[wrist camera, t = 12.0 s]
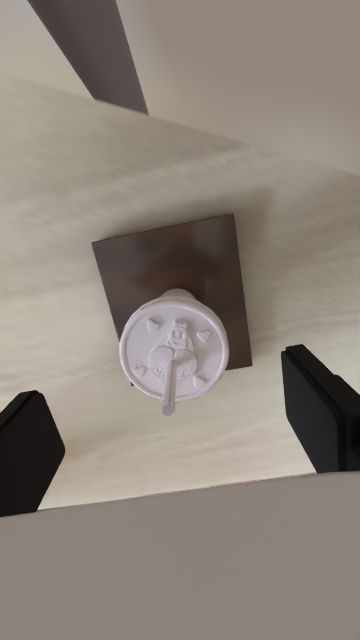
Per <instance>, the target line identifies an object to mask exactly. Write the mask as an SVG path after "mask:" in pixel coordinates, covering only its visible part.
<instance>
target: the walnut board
mask: <svg viewBox="0 0 360 640" xmlns="http://www.w3.org/2000/svg"><path fill="white" fill-rule="evenodd" d="M92 247H93V250H94V254H95V257H96V261H97V264H98V268H99V271H100V275H101V279H102V282H103V286H104V289H105V293H106V296H107V300H108V303H109V307H110V311H111V314H112V318H113V321H114V325H115V328H116V332H117V335H118V339H119V343H120V339H121V336H122V333H123V331H124V327H125V325H126V323H127V322H128V320H129V319H130V317H131V315H132V314H133V313H134V312H135V311H137V310H138V309H139V308H140V307H141V306H142V305H144V304H146V303H148V302H150V301H152V300H154V299H157V298H159V297H160V296H161V295H163V294H164V293H165V292H166V291H168V290H171V289H183V290H186V291H188V292H189V293H191V294H192V295H193V296H194V297H195V299H196V300H197V301H199V302H201V303H202V304H204V305H205V306H207V307H208V308H210V309H211V310H212V311H213V312H214V313H215V314H216V316H217V317H218V318H219V319H220V320H221V322H222V325H223V327H224V329H225V331H226V335H227V340H228V345H229V359H228V363H227V367H226V369H225V370H231V369H237V368H243V367H249V366H252V358H251V350H250V342H249V334H248V326H247V318H246V310H245V302H244V294H243V286H242V279H241V271H240V263H239V255H238V247H237V239H236V231H235V223H234V215H233V213H232V214H227V215H222V216H217V217H213V218H208V219H203V220H198V221H193V222H188V223H183V224H179V225H174V226H169V227H164V228H159V229H154V230H149V231H144V232H140V233H135V234H130V235H125V236H120V237H115V238H110V239H106V240H101V241H96V242H92ZM130 382H131V381H130ZM131 385H132V386H135V385H133V383H132V382H131Z"/></svg>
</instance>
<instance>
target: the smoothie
mask: <svg viewBox="0 0 360 640" xmlns="http://www.w3.org/2000/svg"><path fill="white" fill-rule="evenodd" d="M119 356H120V362H121V365H122V368H123V370H124V372H125V374H126V376H127V377H128V379H129V380H130V381H131V382H132V383H133V385H135V386H136V387H137V388H138V389H139V390H141V391H142V392H144V393H145V394H147V395H149V396H151V397H154V398H157V399H160V400H163V404H162V412H163V414H164V415H167V416H170V415H172V414H174V412H175V401H185V400H189V399H193V398H196V397H198V396H200V395H202V394H204V393H206V392H207V391H209V390H210V389H211V388H212V387H213V386H214V385H216V383H217V382H218V381H219V380H220V378H221V377H222V375H223V374H224V371H225V369H226V367H227V363H228V359H229V345H228V340H227V335H226V331H225V329H224V327H223V325H222V322H221V320H220V319H219V318H218V317H217V316H216V314H215V313H214V312H213V311H212V310H211V309H210V308H208V307H207V306H205V305H204V304H202V303H201V302H199V301H197V300H196V299H195V297H194V296H193V295H192V294H191V293H189V292H188V291H186V290H183V289H171V290H168V291H166V292H165V293H164V294H163V295H161V296H160V297H159V298H157V299H154V300H152V301H150V302H148V303H146V304H144V305H142V306H141V307H140V308H139V309H138V310H137V311H135V312H134V313H133V314H132V315H131V317H130V319H129V320H128V322H127V323H126V325H125V327H124V331H123V333H122V336H121V339H120V344H119Z"/></svg>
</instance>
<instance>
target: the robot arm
mask: <svg viewBox="0 0 360 640" xmlns="http://www.w3.org/2000/svg"><path fill="white" fill-rule="evenodd" d="M281 360H282V372H283V384H284V396H285V408H286V415H287V418H288V421H289V423H290V425H291V426H292V428H293V430H294V432H295V434H296V435H297V437H298V439H299V441H300V443H301V445H302V446H303V448H304V450H305V452H306V454H307V455H308V457H309V459H310V461H311V463H312V464H313V466H314V468H315V470H316V472H317V474H310V475H300V476H290V477H282V478H275V479H268V480H260V481H253V482H246V483H238V484H231V485H224V486H216V487H209V488H202V489H194V490H187V491H180V492H173V493H166V494H158V495H151V496H144V497H137V498H130V499H123V500H116V501H109V502H102V503H95V504H88V505H81V506H74V507H67V508H61V509H54V510H47V511H40V512H36V511H37V509H38V507H39V505H40V503H41V501H42V499H43V497H44V495H45V493H46V491H47V489H48V487H49V485H50V483H51V481H52V479H53V477H54V475H55V473H56V471H57V469H58V467H59V465H60V463H61V461H62V459H63V458H64V455H65V446H64V444H63V441H62V439H61V436H60V434H59V431H58V429H57V427H56V424H55V422H54V419H53V417H52V414H51V412H50V410H49V407H48V405H47V402H46V400H45V397H44V395H43V394H42V393H39V392H38V391H36V390H33V391H27V392H22V393H19V394H18V395H17V396H16V397H15V398H14V399H13V400H12V401H11V402H10V403H9V404H8V405H7V406H6V408H5V409H4V410H3V411H2V412H1V413H0V640H360V395H359V394H358V393H357V392H356V391H355V390H354V389H353V388H352V387H351V386H350V385H349V384H347V383H346V382H345V381H344V380H343V379H342V378H341V377H340V376H338V375H334V374H333V373H332V372H331V371H330V370H329V369H328V368H327V367H326V366H325V365H324V364H323V363H322V362H321V361H319V360H318V359H317V358H316V357H315V356H314V355H313V354H312V353H311V352H310V351H309V350H308V349H307V348H306V347H305V346H304V345H303V344H300V345H294V346H288V347H286V350H285V351H282V352H281Z"/></svg>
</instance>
